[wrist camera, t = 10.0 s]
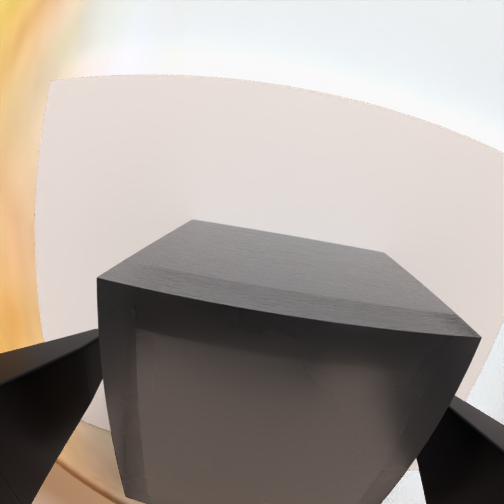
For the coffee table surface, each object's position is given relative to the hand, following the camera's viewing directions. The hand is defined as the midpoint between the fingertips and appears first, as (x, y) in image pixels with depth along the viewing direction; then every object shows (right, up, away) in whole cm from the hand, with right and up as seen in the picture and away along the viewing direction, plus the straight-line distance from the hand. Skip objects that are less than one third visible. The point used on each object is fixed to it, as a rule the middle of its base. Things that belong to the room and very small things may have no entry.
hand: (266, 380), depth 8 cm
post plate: (0, +1, +4) cm, 4 cm away
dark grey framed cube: (0, +1, +3) cm, 3 cm away
